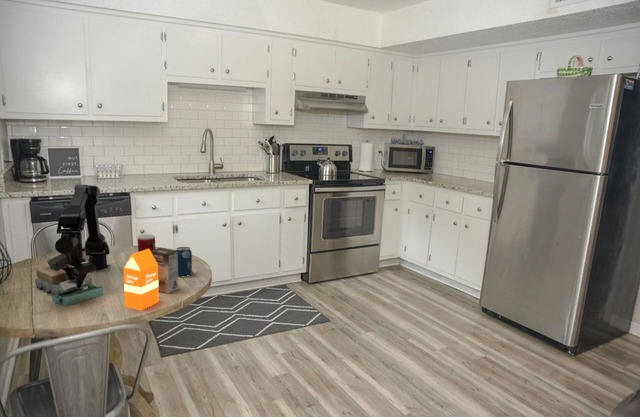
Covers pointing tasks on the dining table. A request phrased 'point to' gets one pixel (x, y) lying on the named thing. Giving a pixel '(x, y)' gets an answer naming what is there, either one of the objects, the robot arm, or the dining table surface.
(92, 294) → the roller bed
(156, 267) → the orange juice
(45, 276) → the slab
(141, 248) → the canned food
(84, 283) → the roller
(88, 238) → the robot arm
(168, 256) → the coffee box
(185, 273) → the soda can
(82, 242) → the lumpy-topped squat cylinder
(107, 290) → the dining table surface
